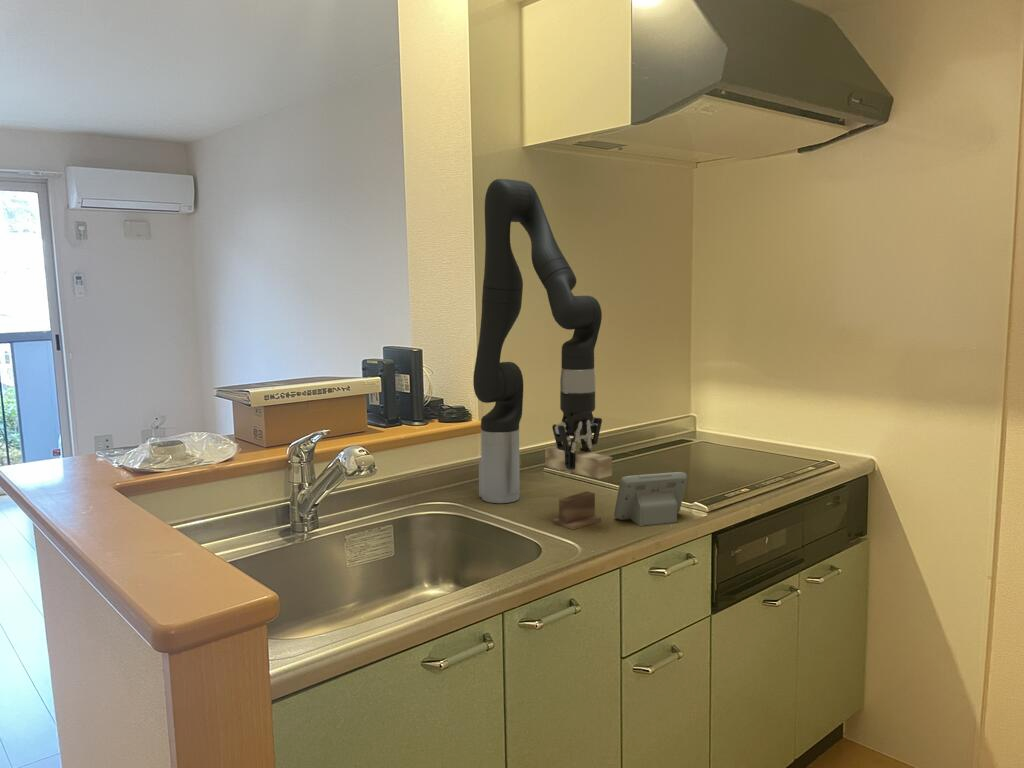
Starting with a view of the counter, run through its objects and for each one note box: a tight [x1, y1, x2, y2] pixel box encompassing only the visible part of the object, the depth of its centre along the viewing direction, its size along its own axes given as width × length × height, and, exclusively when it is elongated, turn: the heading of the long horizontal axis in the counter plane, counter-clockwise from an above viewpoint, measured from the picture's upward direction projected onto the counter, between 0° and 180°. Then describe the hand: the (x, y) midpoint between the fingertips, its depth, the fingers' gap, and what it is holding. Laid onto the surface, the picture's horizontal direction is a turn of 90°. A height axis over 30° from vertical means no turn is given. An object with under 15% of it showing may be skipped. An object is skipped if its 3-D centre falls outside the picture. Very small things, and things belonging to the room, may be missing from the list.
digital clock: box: [613, 471, 688, 527], centre depth 172 cm, size 16×9×11 cm, turn 94°
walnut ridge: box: [552, 490, 602, 530], centre depth 171 cm, size 6×9×6 cm, turn 133°
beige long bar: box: [544, 445, 613, 480], centre depth 170 cm, size 16×4×4 cm, turn 43°
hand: (577, 466), depth 170 cm, fingers closed on beige long bar, 4 cm apart
